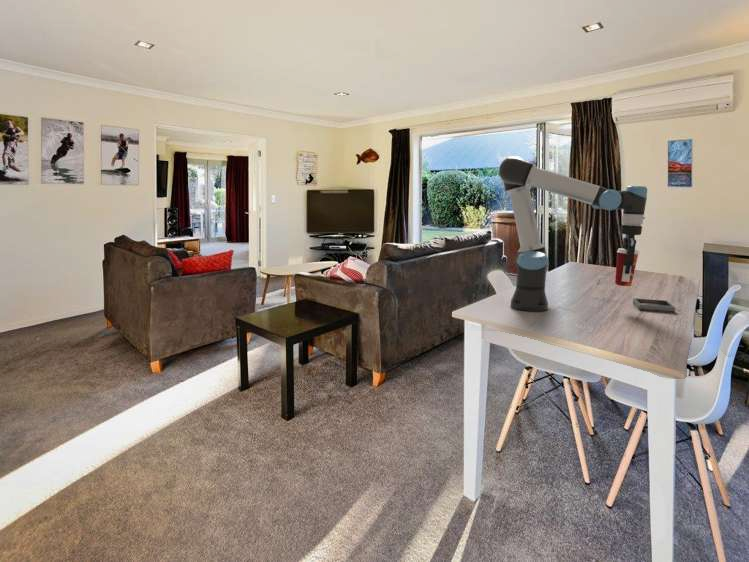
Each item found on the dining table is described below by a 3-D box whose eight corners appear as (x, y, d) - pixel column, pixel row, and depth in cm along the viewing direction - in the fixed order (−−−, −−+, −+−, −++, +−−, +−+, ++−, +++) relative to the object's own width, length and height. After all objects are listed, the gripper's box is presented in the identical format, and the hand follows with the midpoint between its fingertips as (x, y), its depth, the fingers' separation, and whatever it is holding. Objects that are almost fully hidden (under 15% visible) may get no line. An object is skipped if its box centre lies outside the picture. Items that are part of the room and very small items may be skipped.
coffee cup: (637, 287, 181) (643, 251, 178) (615, 285, 182) (620, 249, 179) (630, 283, 189) (635, 248, 186) (609, 282, 190) (614, 247, 187)
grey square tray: (638, 310, 186) (639, 304, 186) (632, 303, 198) (633, 298, 198) (674, 312, 182) (675, 307, 182) (666, 305, 194) (667, 300, 194)
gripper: (647, 226, 170) (638, 285, 175) (637, 223, 188) (629, 276, 193) (625, 225, 172) (617, 283, 177) (617, 222, 191) (610, 274, 196)
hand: (623, 279), depth 185 cm, fingers closed on coffee cup, 7 cm apart
